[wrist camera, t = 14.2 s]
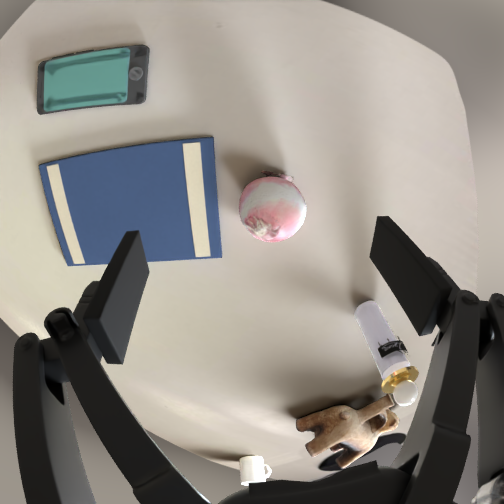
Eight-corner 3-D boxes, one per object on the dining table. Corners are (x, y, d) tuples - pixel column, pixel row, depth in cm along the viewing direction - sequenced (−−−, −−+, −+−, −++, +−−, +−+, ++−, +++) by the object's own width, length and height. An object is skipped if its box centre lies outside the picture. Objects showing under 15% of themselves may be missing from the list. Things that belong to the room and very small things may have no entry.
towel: (213, 136, 32) (213, 137, 32) (222, 254, 41) (222, 258, 40) (41, 163, 31) (38, 165, 30) (69, 263, 40) (67, 266, 39)
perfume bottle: (377, 316, 50) (421, 406, 33) (348, 322, 50) (386, 418, 33) (381, 292, 47) (434, 385, 30) (351, 298, 47) (396, 399, 30)
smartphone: (143, 103, 29) (36, 115, 27) (145, 103, 30) (41, 114, 28) (147, 42, 25) (37, 61, 23) (150, 44, 26) (42, 61, 24)
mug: (276, 455, 84) (279, 479, 76) (250, 463, 88) (252, 486, 79) (261, 451, 81) (264, 477, 72) (234, 459, 84) (236, 483, 76)
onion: (225, 191, 36) (224, 215, 30) (277, 154, 34) (288, 171, 28) (262, 236, 40) (269, 266, 34) (311, 204, 38) (327, 229, 32)
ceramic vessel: (345, 476, 69) (416, 435, 65) (298, 455, 57) (393, 402, 53) (334, 445, 80) (400, 407, 77) (287, 415, 69) (371, 365, 65)
